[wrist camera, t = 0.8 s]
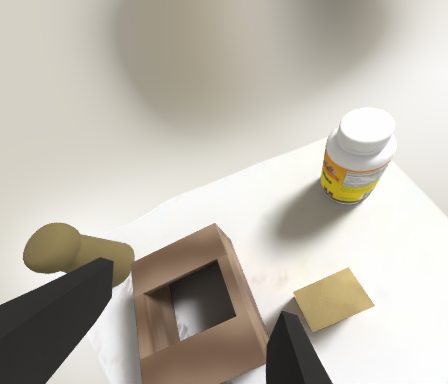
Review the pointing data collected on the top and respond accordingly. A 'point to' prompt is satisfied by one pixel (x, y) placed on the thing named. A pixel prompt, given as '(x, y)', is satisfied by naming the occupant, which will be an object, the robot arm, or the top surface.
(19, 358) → the robot arm
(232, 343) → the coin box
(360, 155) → the supplement bottle
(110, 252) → the cork
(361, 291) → the block
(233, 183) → the top surface
